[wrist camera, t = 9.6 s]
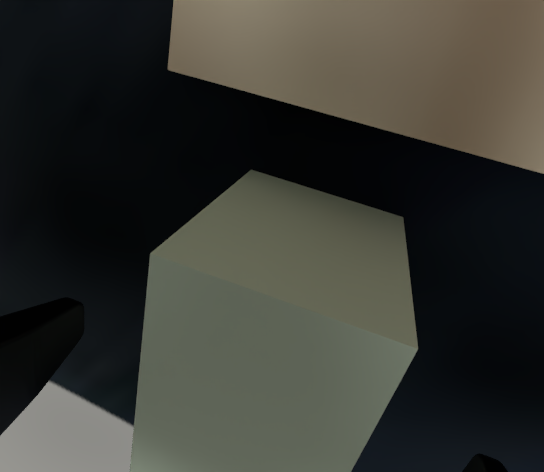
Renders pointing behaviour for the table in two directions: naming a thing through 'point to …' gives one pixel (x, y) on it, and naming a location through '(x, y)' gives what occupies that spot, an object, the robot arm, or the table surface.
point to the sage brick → (272, 333)
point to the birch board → (383, 64)
